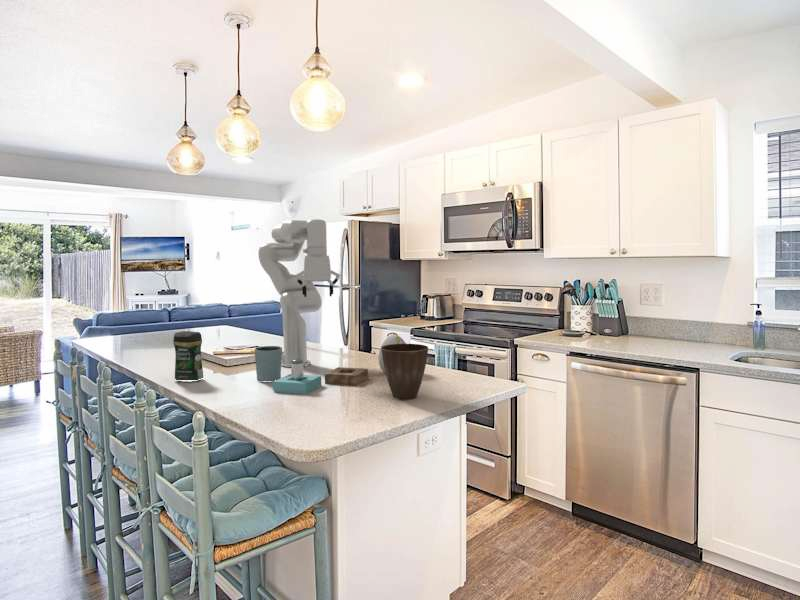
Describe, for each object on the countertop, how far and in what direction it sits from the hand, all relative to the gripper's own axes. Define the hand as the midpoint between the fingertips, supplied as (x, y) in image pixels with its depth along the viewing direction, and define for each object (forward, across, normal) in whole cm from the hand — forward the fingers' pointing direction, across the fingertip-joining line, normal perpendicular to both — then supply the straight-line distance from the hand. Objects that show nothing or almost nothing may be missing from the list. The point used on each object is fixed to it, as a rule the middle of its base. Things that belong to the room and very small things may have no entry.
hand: (318, 296), depth 195 cm
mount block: (+30, +10, -14) cm, 35 cm away
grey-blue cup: (+31, -19, -7) cm, 36 cm away
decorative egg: (+31, +29, -5) cm, 42 cm away
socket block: (+30, -7, -23) cm, 39 cm away
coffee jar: (+31, -48, -2) cm, 57 cm away
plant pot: (+31, +27, -41) cm, 58 cm away
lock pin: (+30, -7, -23) cm, 39 cm away
